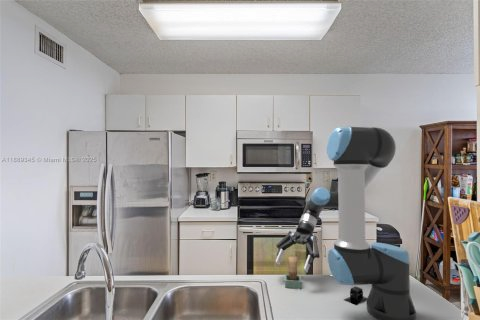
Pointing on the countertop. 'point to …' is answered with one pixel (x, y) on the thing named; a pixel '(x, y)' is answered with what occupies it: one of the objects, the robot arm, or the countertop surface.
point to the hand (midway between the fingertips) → (290, 266)
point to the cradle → (292, 282)
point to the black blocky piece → (356, 296)
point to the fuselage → (293, 268)
